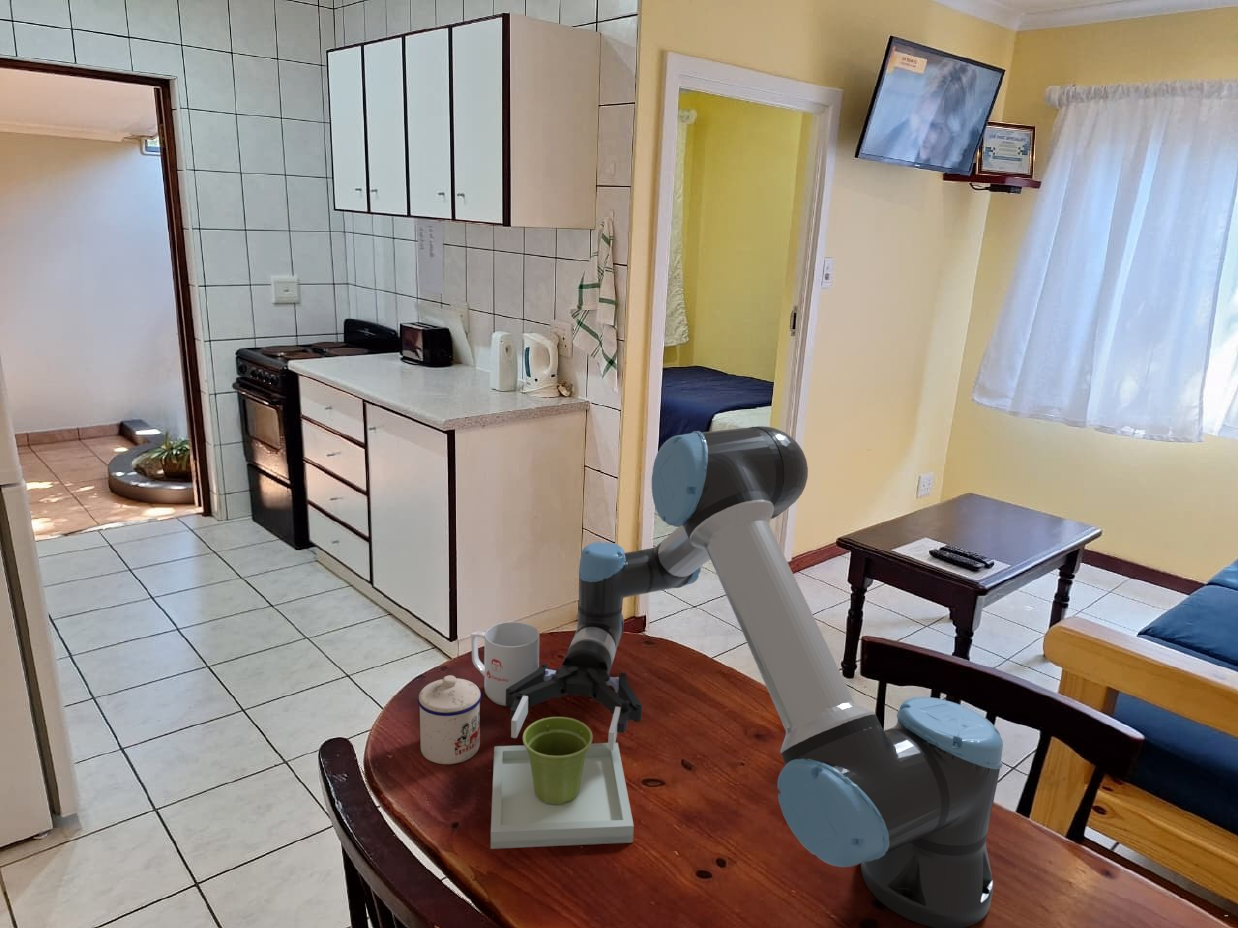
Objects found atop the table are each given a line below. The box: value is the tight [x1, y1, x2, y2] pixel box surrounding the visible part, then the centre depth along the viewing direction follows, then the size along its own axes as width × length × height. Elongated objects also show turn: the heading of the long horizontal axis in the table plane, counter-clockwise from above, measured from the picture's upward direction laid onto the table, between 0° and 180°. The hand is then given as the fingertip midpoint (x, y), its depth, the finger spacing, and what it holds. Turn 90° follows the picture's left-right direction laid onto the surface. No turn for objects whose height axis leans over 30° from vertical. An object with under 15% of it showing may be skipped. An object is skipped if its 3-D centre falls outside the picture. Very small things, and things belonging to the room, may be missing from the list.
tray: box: [490, 742, 635, 850], centre depth 116 cm, size 18×18×2 cm
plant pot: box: [522, 716, 594, 805], centre depth 115 cm, size 9×9×9 cm
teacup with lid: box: [417, 674, 482, 765], centre depth 126 cm, size 12×9×12 cm
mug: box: [470, 621, 540, 707], centre depth 140 cm, size 12×9×11 cm
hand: (562, 735), depth 117 cm, fingers open, 13 cm apart
